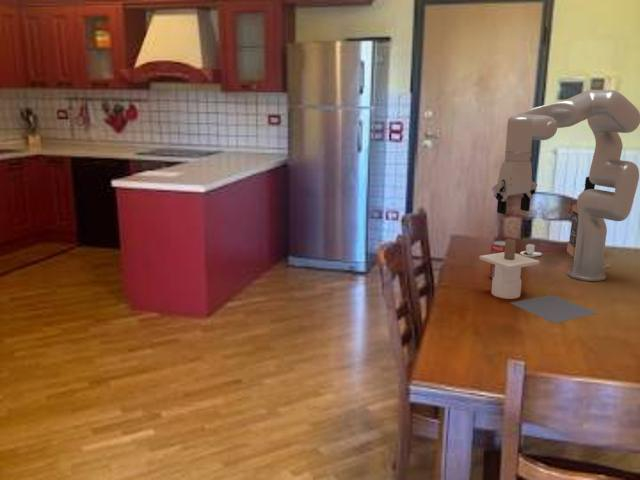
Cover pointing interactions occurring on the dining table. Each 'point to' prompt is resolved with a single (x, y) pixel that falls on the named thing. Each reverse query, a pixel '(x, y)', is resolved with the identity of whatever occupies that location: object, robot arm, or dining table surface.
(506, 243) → the lid
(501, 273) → the cylinder with rectangular tab
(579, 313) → the mat
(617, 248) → the dining table surface
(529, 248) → the teacup and saucer
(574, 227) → the whiskey bottle
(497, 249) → the soda can
